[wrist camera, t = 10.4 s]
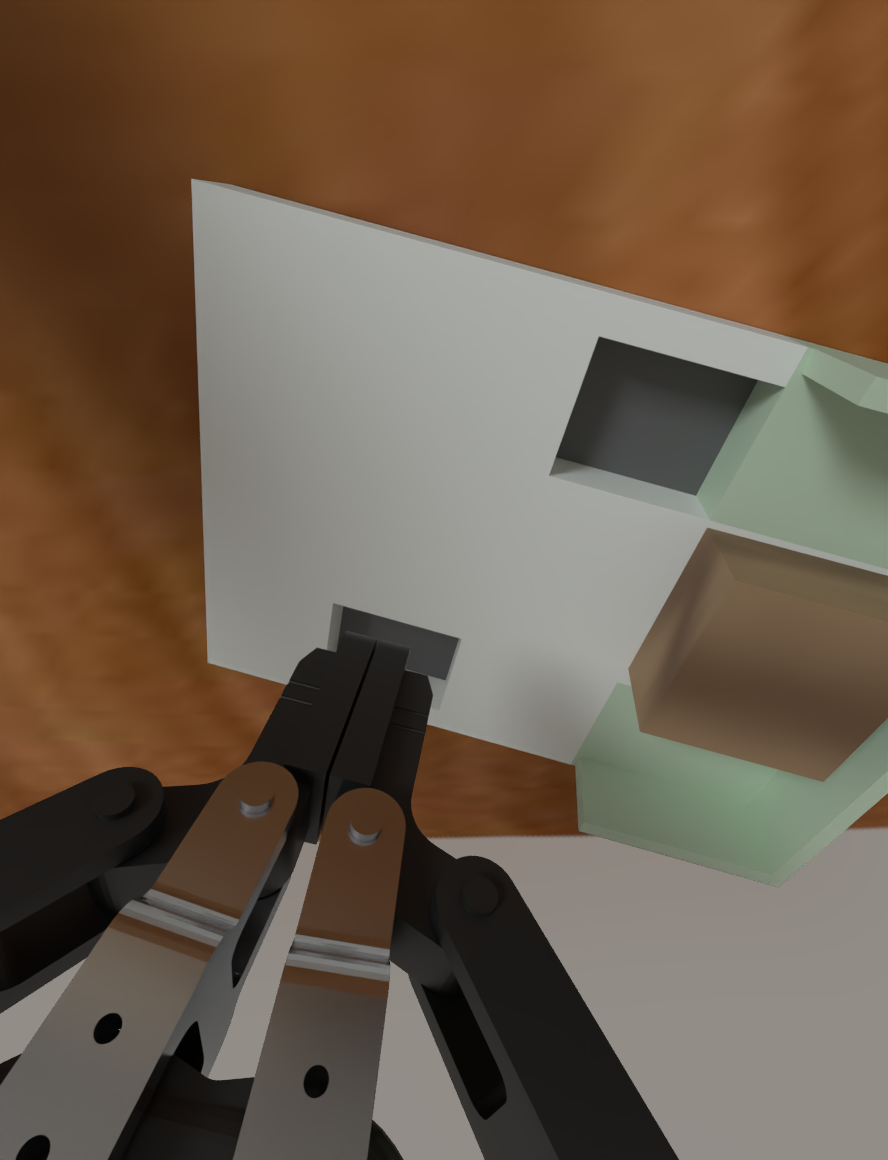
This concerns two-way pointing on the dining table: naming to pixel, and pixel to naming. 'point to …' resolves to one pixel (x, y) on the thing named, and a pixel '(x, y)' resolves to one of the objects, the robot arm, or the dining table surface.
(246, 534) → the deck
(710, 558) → the block
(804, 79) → the dining table surface
